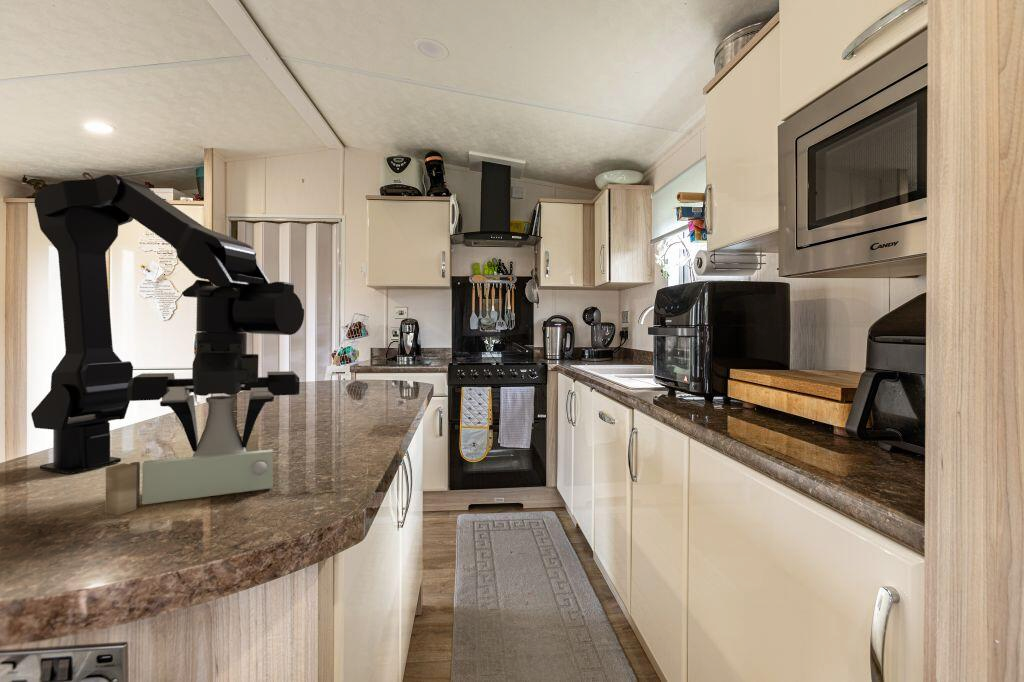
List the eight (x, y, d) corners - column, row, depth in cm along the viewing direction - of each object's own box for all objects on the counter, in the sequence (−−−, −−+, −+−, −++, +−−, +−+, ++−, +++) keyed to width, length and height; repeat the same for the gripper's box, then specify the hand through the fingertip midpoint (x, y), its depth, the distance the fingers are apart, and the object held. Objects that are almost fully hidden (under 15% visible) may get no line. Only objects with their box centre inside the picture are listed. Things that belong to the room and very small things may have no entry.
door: (144, 500, 53) (144, 460, 53) (272, 485, 60) (272, 449, 60) (140, 507, 51) (140, 466, 51) (272, 490, 58) (273, 453, 58)
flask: (221, 482, 57) (222, 402, 57) (172, 477, 59) (173, 399, 58) (263, 465, 64) (264, 395, 64) (218, 461, 66) (219, 392, 65)
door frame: (105, 512, 50) (105, 467, 50) (247, 465, 69) (247, 432, 68) (118, 515, 50) (119, 469, 50) (257, 466, 68) (258, 433, 68)
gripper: (115, 332, 49) (113, 475, 50) (304, 335, 59) (301, 456, 59) (138, 330, 59) (137, 450, 60) (297, 333, 68) (295, 437, 69)
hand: (220, 448), depth 61 cm, fingers closed on flask, 5 cm apart
